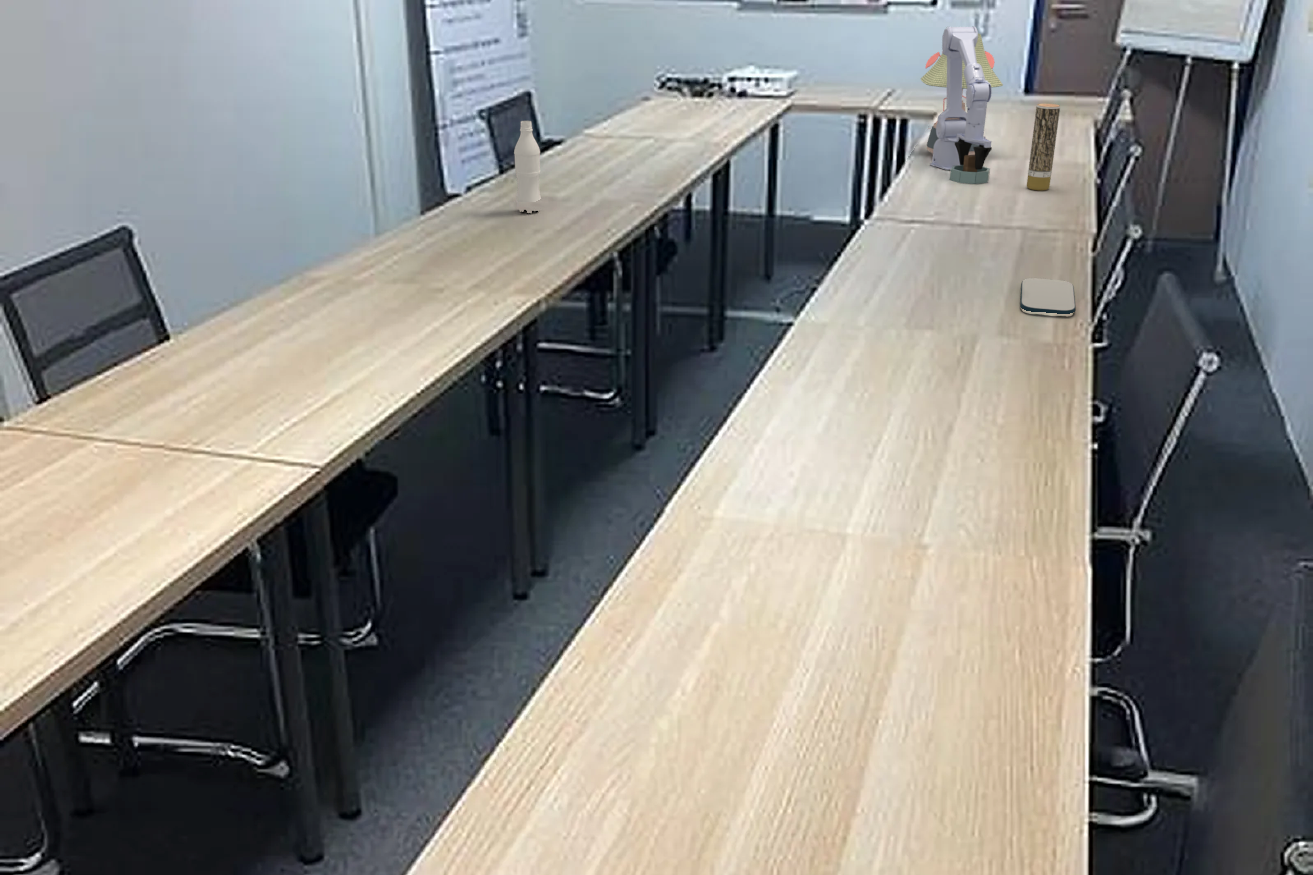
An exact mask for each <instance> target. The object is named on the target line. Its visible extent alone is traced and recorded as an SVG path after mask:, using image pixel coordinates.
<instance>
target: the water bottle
mask: <svg viewBox="0 0 1313 875" xmlns="http://www.w3.org/2000/svg"><path fill="white" fill-rule="evenodd" d="M519 131H520V136H519V138H518V140H517V142H516V144H515V146H514V152H513V154H514V172H515V175H516V181H517V195H516V200H517V201H518V202H536V201H538V200H540V199H542V197H541V191H540V190H541V189H540V176H541V156H540V154H541V149H540V147H539V144H538V143H537V140H536V139H535V137H534V134H533V125H532V121H531V120H521V121H520V129H519ZM516 200H515V201H516Z"/></svg>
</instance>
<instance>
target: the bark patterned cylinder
mask: <svg viewBox="0 0 1313 875" xmlns="http://www.w3.org/2000/svg"><path fill="white" fill-rule="evenodd" d="M1060 112H1061V105H1060V104H1056V103H1055V104H1054V103H1037V104H1036V107H1035V117H1034V122H1033V131H1032V138H1031V146H1030V147H1031V148H1030V155H1029V162H1028V163H1029V164H1028V170H1027V179H1026V188H1027V189H1028V190H1031V191H1041V192H1043V191H1047V190H1049V189H1050V187H1051V186H1050V185H1051V180H1052V179H1051V178H1052V172H1053V164H1054V159H1055V158H1054V157H1055V156H1054V155H1055V151H1056V150H1055V148H1056V142H1057V135H1058V134H1057V133H1058V126H1059V119H1060Z"/></svg>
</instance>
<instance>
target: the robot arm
mask: <svg viewBox="0 0 1313 875" xmlns="http://www.w3.org/2000/svg"><path fill="white" fill-rule="evenodd" d="M945 27H946V26H945ZM978 33H979V31H978V29H977V27H976V26H973V25H972V26H947V27H946V28H945V29H944V31H943V34H942V39H941V40H942V42H941V43H942V45H941V48H942V49H941V50H942V51H943V54H944V55H946V56H947V88H946V97H947V98H946V109H944V111H942V112H941V113H939V115H937V121H936V122H937V126H936V134H937V137H938V138H939V139H938V140H937V141H936V142H935V144H934V149H933V154H932V159H931V160H932V162H930V163H929V165H930V166H933V167H936V168H939V169H942V170H946V171H951V168H952V166H956V165H964V156H965V155H968V154H969V150H970V148H971V145H972V144H976V145H979V146H978V147H973V148H974V152H975V169H976V170H979V169H982V167H984V164H985V162H986V159H987V157H988V156H989V155H990V152H991V151H992V140H989V139H987V138H986V136H984V135H985V126H986V118H987V117H986V116H987V108H988V102H990V100H991V99H992V94H993V91H992V88H991V84H990V83H989V82H988V81H987V80H985V77H984V73H983V70H982V66H981V65H980V64H978V63H977V60H976V53H975V46H976V43H977V40H978ZM962 60H963V62H964V64H965V69H964V71H963V73H964V77H965V81H966V85H967V89H965V97H966V98H965V100H966V102H965V108H967V110H965V111H964V110H963V109H962V100H963V97H962V95H963V93H962ZM946 118H959V119H946Z"/></svg>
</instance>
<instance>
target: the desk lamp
mask: <svg viewBox="0 0 1313 875" xmlns="http://www.w3.org/2000/svg"><path fill="white" fill-rule="evenodd" d="M982 38H983V37H982V34H981V33H979V32H978V40H977V43H976V46H975V53H976V60H977V63H978V64H980V65H981V66H982V70H983V73H984V77H985V80H987V81H988V82H989V83H990V84H991V89H992V88H999V87H1003V86H1004V84H1003V82H1002V81H1001V80H1000V79H999V77H998V76H997V75H996V73H995V72H994V69H992V68H991V67H990V65H989V62H988V60H987V58H986V54H985V51H986V50H985V48H984V47H985V46H984V42H983V39H982ZM940 55H941V56H940V57H938V59H937V60H936V62H935V63H934V64H933V65H932V67H931V68H929V70H928V71H927V72H926V73H925V74H924V75H923V76H922V77H921V78H920V81H921V82H922V83H923V84H925V85H927V86H929V87H939V88H946V89H947V56H946V55H944V54H943V53H942V52H941V54H940ZM964 69H965V64H964V62H963V60H962V94H963V92H964V89H965V90H967V85H966V81H965V77H964V73H963V71H964ZM962 109H963V110H964V111H965V112H966V102H964V100H963V99H962ZM946 119H959V118H946ZM936 126H937V121H936V122H934V123H933V125H932V126H931V127H930V133H929V136H928V139H927V142H926V150H927V151H928V152H929V153H930V154H932V155H933V149H934V144H935V142H936V141H937V140H938V139H939V138H938V137H937V134H936ZM978 146H979V145H976V144H972V145H971V148H970V150H969V154H968V155H974V154H975V152H974V148H973V147H978Z"/></svg>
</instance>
